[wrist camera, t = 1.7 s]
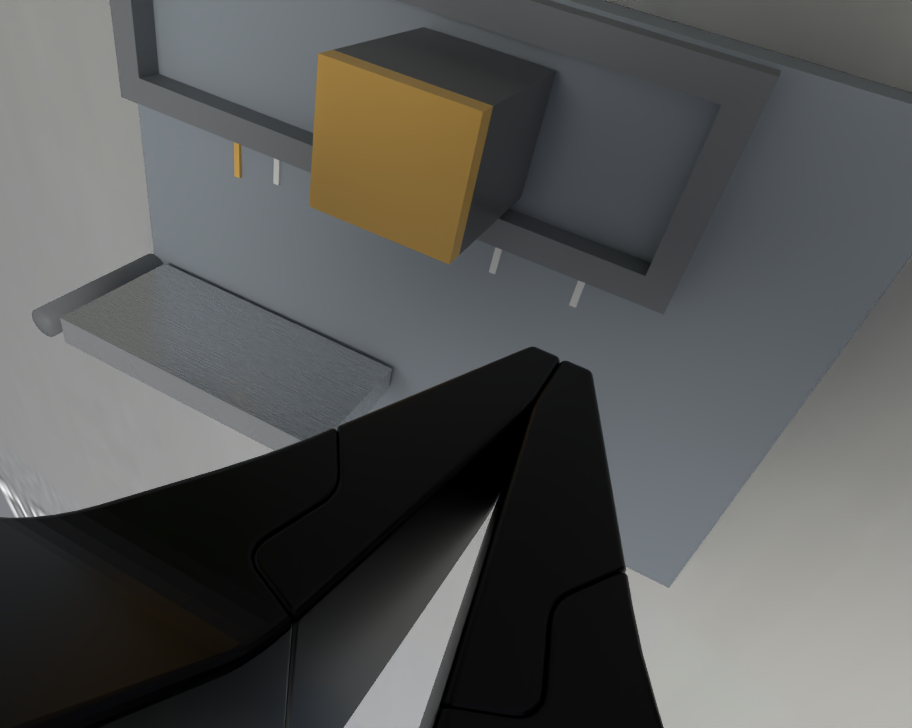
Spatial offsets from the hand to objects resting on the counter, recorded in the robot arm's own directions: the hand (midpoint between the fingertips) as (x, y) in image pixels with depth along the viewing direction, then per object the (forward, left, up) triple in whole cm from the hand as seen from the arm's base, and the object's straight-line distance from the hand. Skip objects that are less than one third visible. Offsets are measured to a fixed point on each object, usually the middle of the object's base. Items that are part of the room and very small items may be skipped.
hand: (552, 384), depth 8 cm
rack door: (+11, +10, -9) cm, 17 cm away
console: (+6, +5, -11) cm, 13 cm away
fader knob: (+5, 0, -9) cm, 10 cm away
